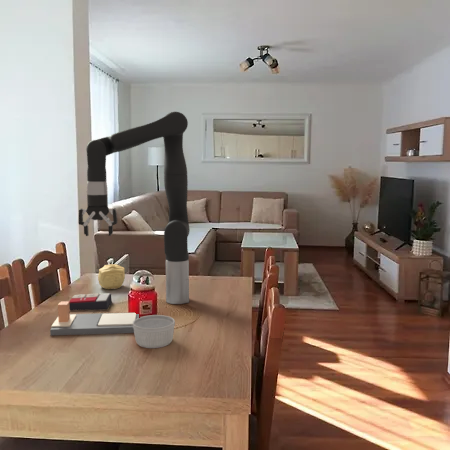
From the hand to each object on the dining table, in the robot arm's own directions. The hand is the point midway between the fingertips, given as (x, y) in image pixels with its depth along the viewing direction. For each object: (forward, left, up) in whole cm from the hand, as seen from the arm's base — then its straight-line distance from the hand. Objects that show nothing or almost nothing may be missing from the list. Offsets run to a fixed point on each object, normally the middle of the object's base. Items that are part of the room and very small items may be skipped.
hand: (98, 235), depth 195 cm
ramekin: (-22, +40, -28) cm, 54 cm away
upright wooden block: (+9, +23, -26) cm, 36 cm away
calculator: (+4, -2, -29) cm, 29 cm away
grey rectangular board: (-2, +23, -28) cm, 36 cm away
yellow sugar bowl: (-1, -29, -28) cm, 41 cm away
